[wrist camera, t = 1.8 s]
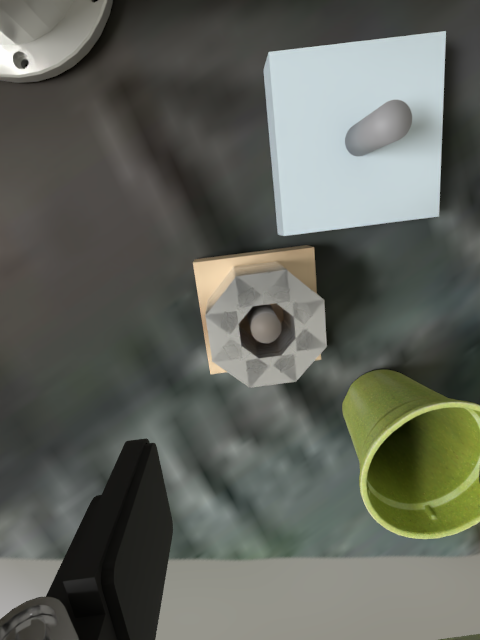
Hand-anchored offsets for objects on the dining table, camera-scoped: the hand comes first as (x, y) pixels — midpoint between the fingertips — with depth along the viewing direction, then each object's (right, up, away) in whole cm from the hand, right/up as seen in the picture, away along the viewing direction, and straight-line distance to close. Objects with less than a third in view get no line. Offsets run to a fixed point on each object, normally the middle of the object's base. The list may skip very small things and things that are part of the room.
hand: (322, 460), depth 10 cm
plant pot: (+9, -3, +19) cm, 21 cm away
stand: (-1, +5, +16) cm, 17 cm away
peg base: (+5, +15, +14) cm, 21 cm away
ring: (-1, +4, +14) cm, 15 cm away
